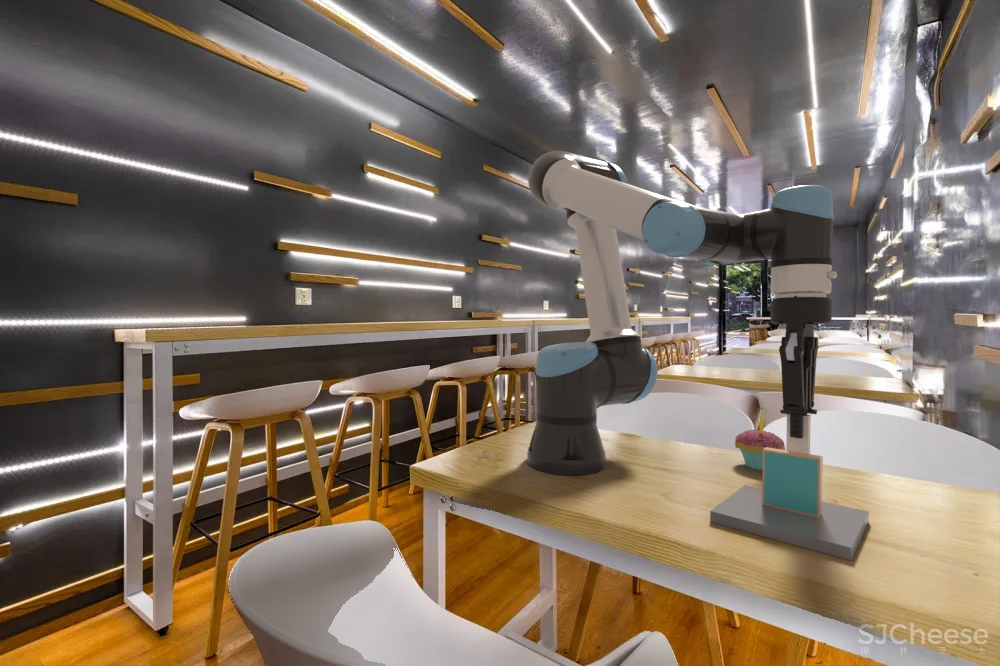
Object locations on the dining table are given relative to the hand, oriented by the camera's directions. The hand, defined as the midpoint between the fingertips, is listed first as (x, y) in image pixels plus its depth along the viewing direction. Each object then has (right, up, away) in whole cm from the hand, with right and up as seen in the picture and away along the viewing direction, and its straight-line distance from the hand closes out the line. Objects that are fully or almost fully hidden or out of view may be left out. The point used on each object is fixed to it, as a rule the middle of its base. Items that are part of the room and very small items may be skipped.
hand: (798, 458), depth 71 cm
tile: (-3, -6, -3) cm, 7 cm away
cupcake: (+6, -8, +22) cm, 24 cm away
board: (-3, -8, -3) cm, 9 cm away
